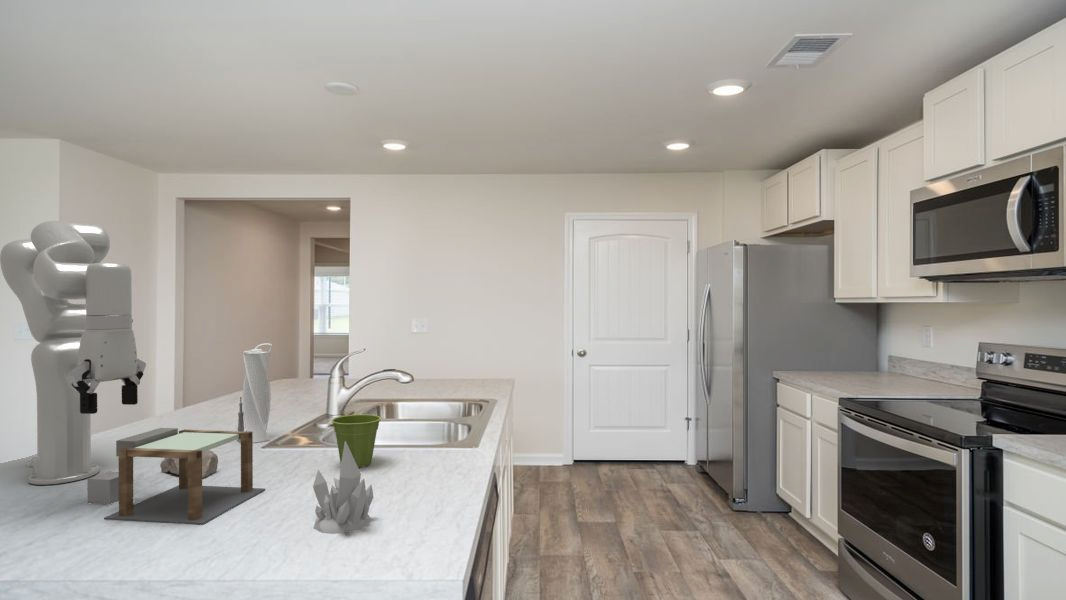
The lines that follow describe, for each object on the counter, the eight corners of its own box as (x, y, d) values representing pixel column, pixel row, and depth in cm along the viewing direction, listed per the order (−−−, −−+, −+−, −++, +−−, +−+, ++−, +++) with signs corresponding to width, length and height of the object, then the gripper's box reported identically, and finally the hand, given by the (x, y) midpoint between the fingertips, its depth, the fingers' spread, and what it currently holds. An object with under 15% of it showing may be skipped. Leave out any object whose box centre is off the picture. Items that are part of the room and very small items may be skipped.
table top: (104, 519, 107) (104, 517, 107) (179, 486, 126) (179, 484, 126) (203, 524, 104) (203, 523, 104) (265, 489, 123) (265, 488, 123)
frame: (118, 517, 108) (118, 449, 108) (184, 488, 125) (184, 429, 125) (196, 521, 106) (195, 452, 106) (252, 491, 123) (252, 431, 122)
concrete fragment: (194, 482, 130) (194, 454, 129) (156, 473, 136) (156, 447, 136) (224, 473, 136) (223, 447, 136) (185, 465, 142) (185, 440, 142)
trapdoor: (111, 457, 110) (111, 441, 110) (164, 440, 123) (164, 426, 123) (194, 460, 108) (194, 444, 108) (238, 443, 121) (238, 429, 121)
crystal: (339, 507, 113) (339, 430, 113) (386, 521, 106) (386, 439, 106) (294, 523, 105) (293, 440, 105) (342, 540, 98) (341, 451, 98)
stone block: (87, 503, 116) (87, 478, 116) (109, 495, 120) (108, 471, 120) (109, 505, 115) (109, 479, 115) (130, 496, 120) (130, 472, 120)
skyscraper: (267, 436, 172) (267, 342, 172) (275, 441, 166) (275, 343, 166) (236, 441, 167) (236, 343, 167) (243, 446, 160) (243, 345, 160)
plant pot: (384, 468, 139) (384, 421, 139) (332, 474, 134) (332, 425, 134) (378, 455, 150) (378, 412, 150) (330, 460, 145) (329, 415, 145)
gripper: (127, 322, 127) (128, 401, 127) (52, 326, 110) (53, 416, 110) (158, 322, 126) (159, 401, 126) (87, 326, 109) (88, 417, 109)
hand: (110, 408), depth 118 cm, fingers open, 9 cm apart
